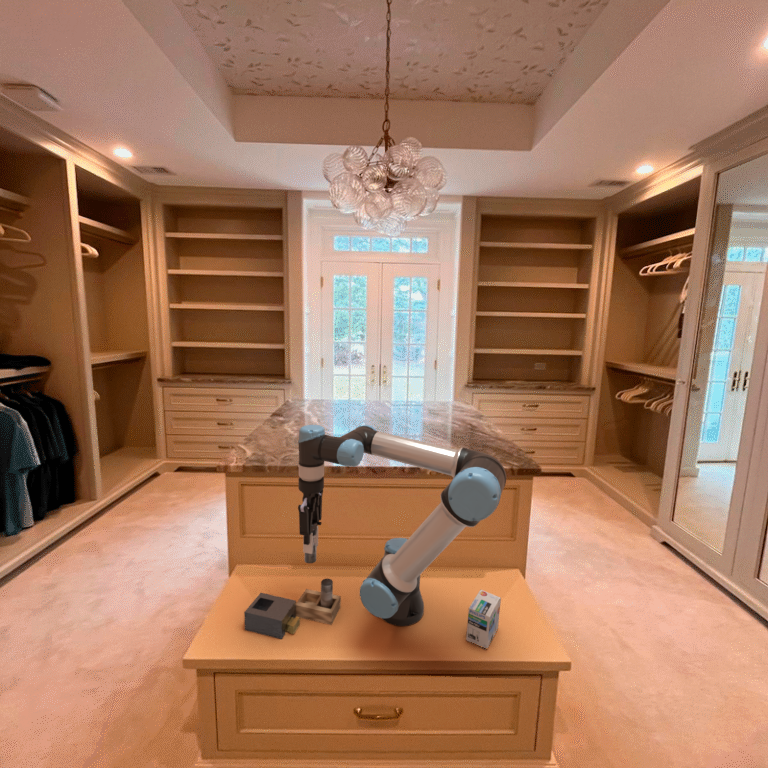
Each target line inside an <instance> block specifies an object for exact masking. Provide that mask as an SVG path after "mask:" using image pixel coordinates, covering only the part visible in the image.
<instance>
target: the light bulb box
mask: <svg viewBox="0 0 768 768" xmlns="http://www.w3.org/2000/svg"><path fill="white" fill-rule="evenodd" d="M501 602H502V598H501V597H500V596H497V595H495V594H493V593H491V592H488V591H485V590H484V589H480V590H479V591H478V593H477V594H476V596H475V597H474V599H473V600H472V602H471V604H470V605H469V607H468V612H467V615H468V616H467V626H466V636H465V637H466V638H465V639H466V641H467V642H469V643H471V642H472V643H471V644H473V643H475V644H477V645H479V646H482V647H484V648H488V647H490V646H491V644H490V643H492V642H491V641H493V640H494V638H495V636H496V634H497V632H496V631H498V630H499V622H500V621H499V620H500V612H501V611H500V610H501ZM497 629H498V630H497ZM495 633H496V634H495ZM494 635H495V636H494ZM493 637H494V638H493ZM492 639H493V640H492ZM475 644H474V645H475ZM477 645H476V646H477ZM489 645H490V646H489ZM479 646H478V647H479ZM482 647H481V648H482ZM484 648H483V649H484ZM488 649H489V648H488Z"/></svg>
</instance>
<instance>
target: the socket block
mask: <svg viewBox="0 0 768 768" xmlns="http://www.w3.org/2000/svg"><path fill="white" fill-rule="evenodd" d="M296 603H297V600H294V599H290V598H287V597H281V596H277V595H274V594H268V593H264V592H259V594H258V596H256V598H255V599H254V600H253V601H252V602H251V604H249V605H248V607H247V608H246V610H245V611H244V613H243V614H244V631H247V632H251V633H256V634H259V635H264V636H267V637H271V638H275V639H277V640H283V638H284V637H285V635H286V631H285V625H286V623H287V622H288V620H289V619H290V617H293V618H295V617H296Z"/></svg>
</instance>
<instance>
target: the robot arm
mask: <svg viewBox="0 0 768 768" xmlns="http://www.w3.org/2000/svg"><path fill="white" fill-rule="evenodd" d="M325 431H326V430H325V427H324V426H322V425H320V424H307V425H303V426H301V427H300V428H299V430H298V441H297V443H298V444H297V445H298V465H297V467H298V490H299V491H300V492H301V493H302V504H298V505H297V509H298V518H299V520H298V521H299V522H298V523H299V527H298V528H299V529H298V531H299V535H301V536H302V539H303V540H302V541H303V542H302V543H303V545H302V553H303V554H305V553H309V554H312V553H313V533H311V530H312V521H314V522H316V523H317V547H318V546H319V526H322V523H323V522H322V521H321V520H322V517H323V516H322V513H323V512H322V511H323V495H324V494H323V493H324V488H325V477H324V476H325V463H326V462H328V463H331V464H336V465H341V466H343V467H353V468H355V467H357V466H359V465H360V463H361V461H363V458H364V454H368V455H371V456H376V457H380V458H383V459H387V460H391V461H394V462H399V463H402V464H406V465H410V466H414V467H417V468H421V469H425V470H427V471H432V472H436V473H440V474H444V475H448V476H451V477H452V480H451V481H450V482H449V484H448V485H446V487H445V488H444V489H443V490H442V491H441V493H440V503H439V504H438V505H436V507H435V508H434V510H432V512H431V513H430V514H429V515H428V516H427V517H426V518H425V519H424V521H423V522H422V523H421V524H420V525H419V526H418V527H417V528H416V530H415V531H414V532H413V533H412V534H411V535H410V536H409V538H404V537H394V538H391V539H388V540H387V541H386V542H385V544H384V548H383V550H384V554H383V557H382V558H381V559H380V560H379V561H378V563H377V564H376V565H375V567H374V568H373V569H372V571H371V572H370V573H369V574H368V576H366V578H365V579H364V580H363V581H362V583H361V584H360V585H361V586H360V588H359V597H360V601H361V603H362V605H363V607H364V608H365V609H366V610H367V612H369V613H370V614H371V615H373V616H374V617H376V618H380V619H381V620H383V621H384V622H385V623H388V624H390V625H393V626H398V627H408V626H411V625H414V624H417V622H419V621H420V620H422V618H423V616H424V610H425V607H424V606H425V605H424V603H425V602H424V599H423V595H422V593H421V590H420V587H421V586H420V585H421V583H420V582H421V574H423V572H424V571H425V570H426V569H427V568H428V567H429V566H430V565H431V564H433V562H434V561H435V560H436V559H437V558H438V557H439V555H440V554H441V553H442V552H444V550H446V548H447V547H449V545H450V544H451V543H452V542H453V541H454V540H455V539H456V537H458V536H459V535H460V534H461V532H462V531H464V529H466V527H467V528H474V527H476V526H477V525H479V523H480V522H481V521H483V520H485V519H487V518H488V517H490V516H491V515H492V514H493V513H494V512H495V511H496V509H497V508H498V506H499V504H500V500H501V498H502V497H501V496H502V493H503V491H504V489H505V486H506V484H507V472H506V469H505V467H504V465H503V464H502V462H501V461H500V460H499V459H498V458H496V457H495V456H493V455H492V454H489V453H486V452H484V451H479V450H475V449H473V448H472V449H471V448H466V447H463V446H462V447H460V448H458V449H456V448H450V447H448V446H443V445H442V446H441V445H440V444H439V445H438V444H435V443H434V444H433V443H430V442H425V441H420V440H416V439H411V438H408V437H404V436H400V435H396V434H395V435H394V434H392V433H386V432H383V431H379V430H377V429H376V428H375V426H373V425H370V424H363V425H360V426H357V427H356V428H355V429H353V430H351V431H349V432H347V433H345V434H343V435H341V436H333V435H329V434H326V432H325Z"/></svg>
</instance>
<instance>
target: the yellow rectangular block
mask: <svg viewBox="0 0 768 768" xmlns="http://www.w3.org/2000/svg"><path fill="white" fill-rule="evenodd" d="M300 621H301V618H300V617H297V616H296V617H295V618H293V617H290V619H289V620H288V622H287V623H286V625H285V632H288V633H289V634H291V635H294V634H295V633H296V631H297V630H298V628H299V627H300Z"/></svg>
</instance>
